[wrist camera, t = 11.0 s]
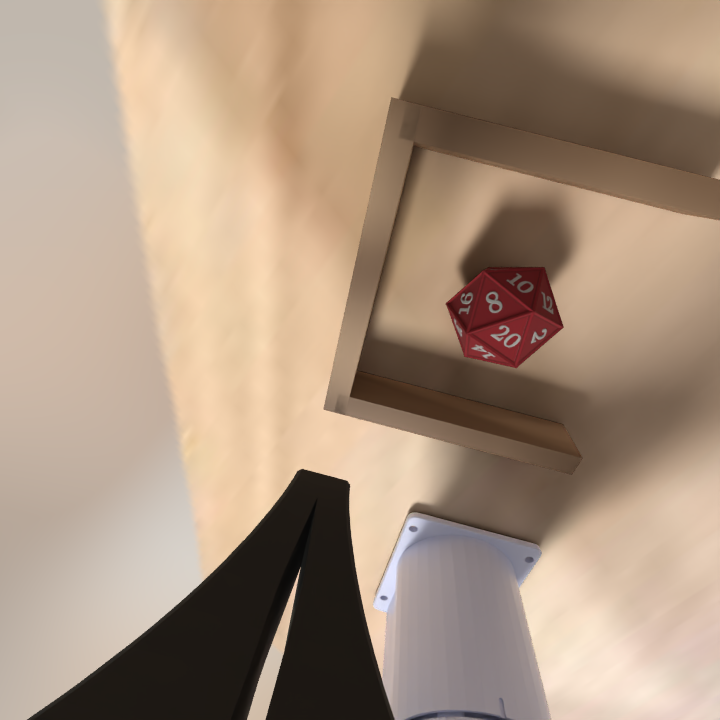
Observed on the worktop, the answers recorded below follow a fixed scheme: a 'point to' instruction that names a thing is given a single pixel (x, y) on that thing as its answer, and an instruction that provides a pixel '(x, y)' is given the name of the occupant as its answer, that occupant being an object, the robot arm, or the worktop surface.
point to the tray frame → (401, 134)
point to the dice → (505, 314)
